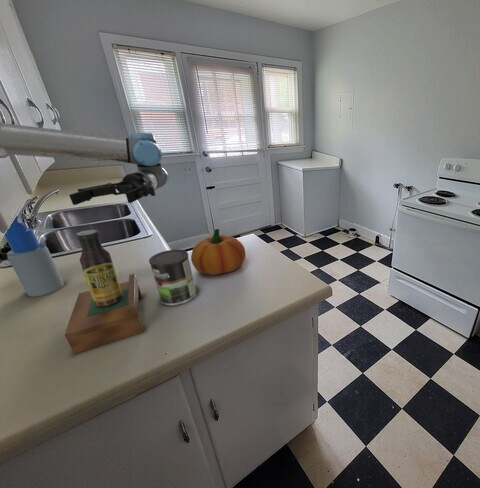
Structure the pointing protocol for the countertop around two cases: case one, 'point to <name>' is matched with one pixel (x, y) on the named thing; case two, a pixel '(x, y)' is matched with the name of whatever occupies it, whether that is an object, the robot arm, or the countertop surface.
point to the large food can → (173, 276)
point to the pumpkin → (218, 254)
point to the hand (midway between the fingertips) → (100, 198)
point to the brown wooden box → (104, 319)
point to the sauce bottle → (98, 270)
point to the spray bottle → (31, 260)
